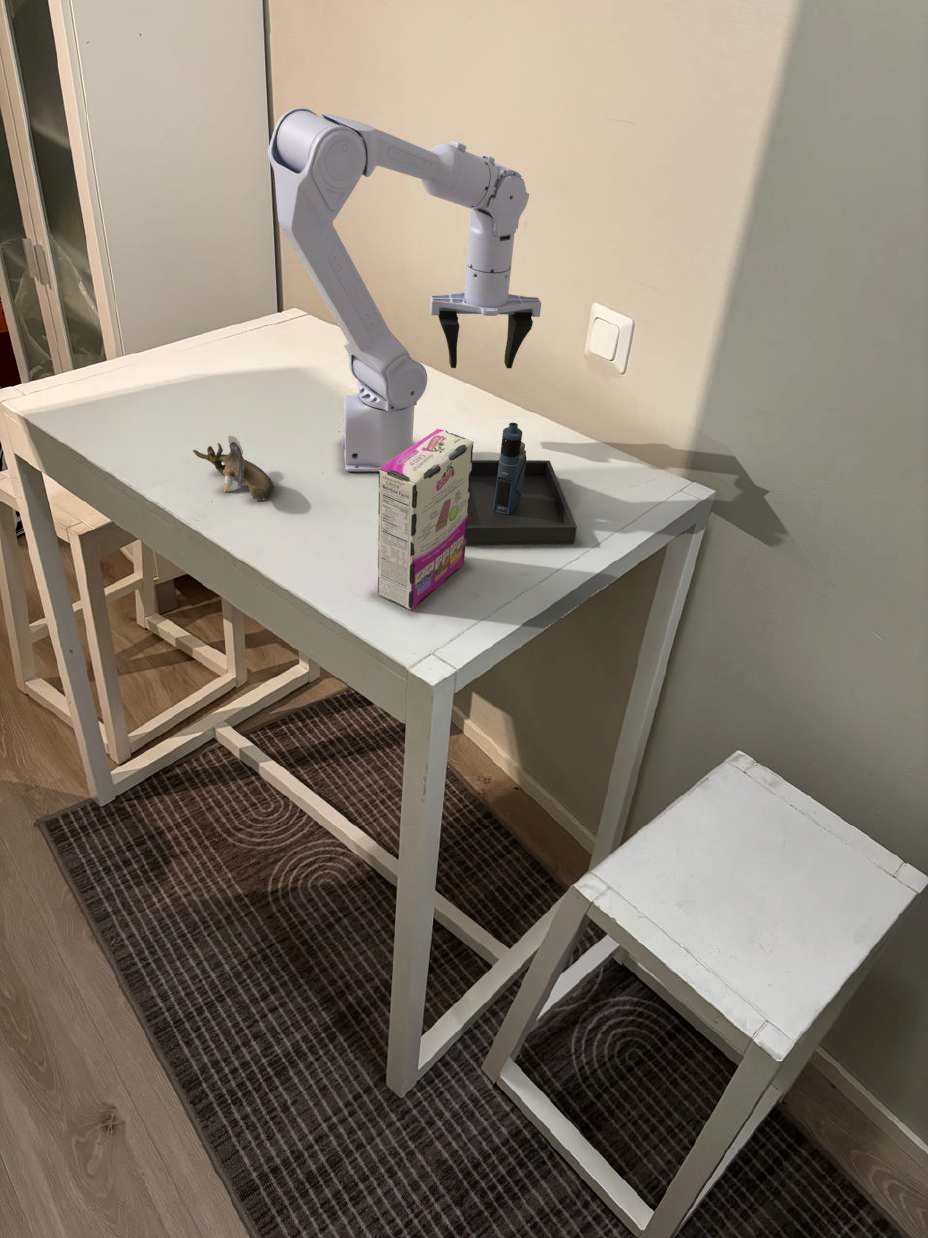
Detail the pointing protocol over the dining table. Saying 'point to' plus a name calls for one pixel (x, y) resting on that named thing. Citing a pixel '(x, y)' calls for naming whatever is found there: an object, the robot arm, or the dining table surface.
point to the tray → (519, 508)
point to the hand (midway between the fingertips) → (480, 365)
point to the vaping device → (510, 470)
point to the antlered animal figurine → (239, 469)
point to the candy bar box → (423, 517)
